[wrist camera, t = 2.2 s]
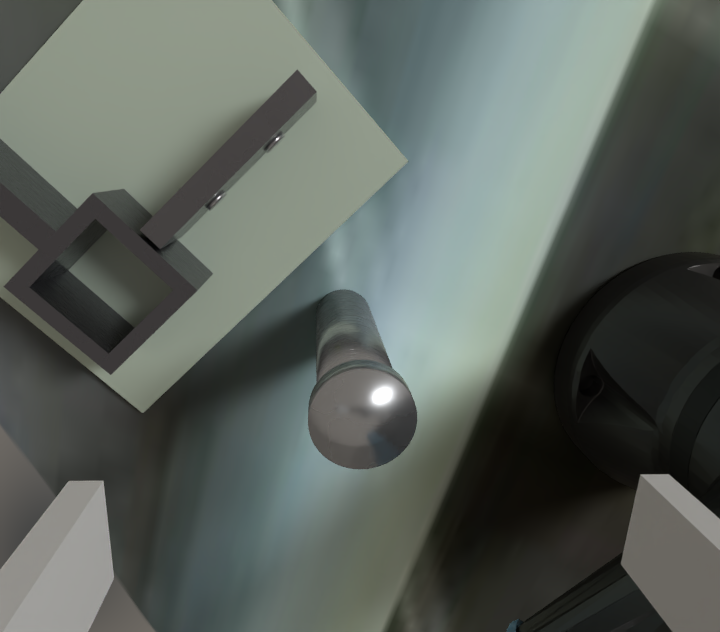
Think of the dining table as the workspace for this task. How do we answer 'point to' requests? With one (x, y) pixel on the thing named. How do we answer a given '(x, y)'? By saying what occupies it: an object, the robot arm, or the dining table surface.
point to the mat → (186, 161)
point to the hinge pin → (356, 388)
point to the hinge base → (69, 243)
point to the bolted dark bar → (232, 161)
